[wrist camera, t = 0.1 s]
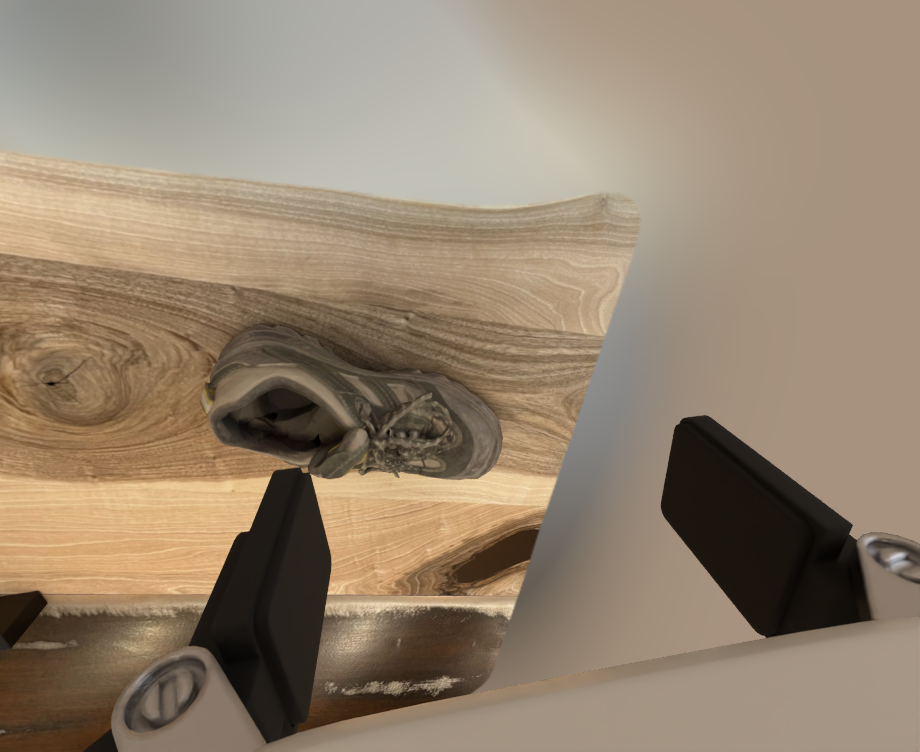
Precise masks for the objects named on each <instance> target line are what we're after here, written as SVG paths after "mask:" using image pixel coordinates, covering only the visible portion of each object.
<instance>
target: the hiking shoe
mask: <svg viewBox="0 0 920 752" xmlns="http://www.w3.org/2000/svg"><path fill="white" fill-rule="evenodd" d="M200 403H201V405H202V408H203V410H204V412H205V414H206V415H208V418H209V425H210V427H211V429H212V432H213V434H214V436H215V438H216V439H217V440H219V441H220V442H221V443H223V444H226V445H229V446H234V447H239V448H242V449H245V450H248V451H252V452H256V453H259V454H263V455H266V456H270V457H274V458H277V459H280V460H282V461H284V462H286V463H289V464H292V465H296V466H299V467H300V468H304V467H308V471H309V473H310V474H312V475H314V476H316V477H319V478H326V479H334V478H340V477H342V476H344V475H346V474H347V473H349V472H350V471H351V470H352V469H355V468H357V469H361V470H359V473H360V474H361V475H364V474H366V473H368V472H369V471H382V472H388V473H394V474H395V477H398V478H399V476H398V474H397V472H404V473H408V474H418V475H423V476H427V477H434V478H441V479H452V480H461V479H478V478H480V477H481V476H483V475H484V474H486V473H487V472H489V471H490V470H491V468H492V467H493V466H494V465H495V464H496V462H497V460H498V457H499V455H500V452H501V450H502V440H503V437H502V431H501V426H500V423H499V420H498V419H497V417H496V416H495V414H494V413H493V411H492V410H491V409H490V408H489V407H487V406H486V404H485V403H484V402H483V401H482V400H480V399H479V398H478V397H477V396H476V395H474V394H472V393H470V392H469V391H467V389H466V387H464V386H463V385H461V384H459V383H457V382H454V381H449V380H447V378H446V377H445V376H443V375H440V374H437V373H421V372H420V371H419V370H418V369H404V370H401V371H397V370H395V369H386V370H382V371H371V370H366V369H361V368H357V367H355V366H353V365H351V364H349V363H347V362H345V361H344V360H342V359H341V358H339V357H338V356H336V355H335V354H334V353H333V350H332V349H331V348H329V347H327V346H323V347H321V345H320V344H319V342H318V341H317V339H315V338H313V337H310V336H308V335H304V336H302V337H301V336H300V335H299V334H298V333H297V332H296V331H294V330H292V329H290V328H287V327H283V326H279V325H277V326H275V327H273V328H271V327H268V326H265V325H256V326H253V327H250V328H247V329H246V330H244V331H243V332H241V333H240V334H238V335H236V336H235V337H233V338H232V339H231V340H230V342H229V343H228V344H227V345H226V346H225V348H224V349H223V350H222V352H221V354H220V356H219V358H218V361H217V362H216V364H215V366H214V369H213V371H212V373H211V375H210V383H206V382H205V385H204V389H203V392H202V396H201V400H200ZM367 467H368V468H367ZM374 467H379V468H374ZM381 468H384V469H385V470H383V469H381Z"/></svg>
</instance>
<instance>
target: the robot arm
mask: <svg viewBox="0 0 920 752" xmlns="http://www.w3.org/2000/svg"><path fill="white" fill-rule="evenodd" d="M661 510H662V513H663V515H664V517H665V519H666V520H667V521H668V522H669V524H670V525H671V526H672V528H673V529H674V530H675V531H676V532H677V534H678V535H679V536H680V538H681V539H682V540H683V541H684V543H685V544H686V545H687V546H688V548H689V549H690V550H691V551H692V552H693V554H694V555H695V556H696V558H697V559H698V560H699V561H700V563H701V564H702V565H703V566H704V567H705V569H706V570H707V571H708V573H709V574H710V575H711V576H712V578H713V579H714V580H715V581H716V583H717V584H718V585H719V586H720V588H721V589H722V590H723V591H724V592H725V594H726V595H727V596H728V598H729V599H730V600H731V601H732V602H733V604H734V605H735V606H736V608H737V609H738V610H739V611H740V612H741V614H742V615H743V616H744V618H745V619H746V620H747V621H748V623H749V624H750V625H751V626H752V628H753V629H755V631H756V632H757V633H759V634H760V635H763V636H765V637H766V638H765V639H760V640H754V641H749V642H743V643H738V644H733V645H727V646H721V647H716V648H710V649H706V650H699V651H694V652H689V653H683V654H678V655H673V656H667V657H662V658H658V659H652V660H646V661H641V662H636V663H631V664H625V665H620V666H614V667H609V668H605V669H599V670H594V671H588V672H583V673H578V674H573V675H567V676H562V677H557V678H552V679H546V680H541V681H537V682H531V683H526V684H521V685H516V686H511V687H506V688H500V689H495V690H491V691H486V692H480V693H476V694H470V695H465V696H460V697H455V698H449V699H444V700H439V701H434V702H429V703H424V704H419V705H415V706H410V707H405V708H401V709H396V710H392V711H387V712H382V713H378V714H373V715H368V716H364V717H359V718H354V719H350V720H345V721H341V722H337V723H333V724H330V725H326V726H322V727H318V728H315V729H311V730H307V731H303V732H300V733H297V728H298V724H299V723H304V722H306V720H307V718H308V714H309V708H310V702H311V695H312V689H313V682H314V676H315V670H316V663H317V657H318V650H319V644H320V637H321V631H322V625H323V618H324V612H325V605H326V599H327V593H328V586H329V580H330V573H331V554H330V549H329V545H328V541H327V538H326V534H325V530H324V526H323V522H322V518H321V514H320V510H319V506H318V502H317V498H316V494H315V490H314V486H313V482H312V478H311V475H310V473H303V472H302V470H301V468H292V469H284V470H276V471H274V473H273V474H272V477H271V479H270V482H269V484H268V487H267V489H266V492H265V494H264V497H263V499H262V502H261V504H260V506H259V509H258V511H257V514H256V516H255V519H254V521H253V524H252V526H251V529H250V531H248V532H241V533H240V534H239V535H237V537H236V539H235V540H234V542H233V545H232V547H231V549H230V552H229V554H228V556H227V559H226V561H225V563H224V565H223V568H222V570H221V572H220V575H219V577H218V579H217V582H216V584H215V586H214V589H213V591H212V593H211V595H210V598H209V600H208V602H207V605H206V607H205V609H204V612H203V614H202V616H201V618H200V621H199V623H198V625H197V628H196V630H195V632H194V635H193V637H192V639H191V642H190V644H189V646H188V647H181V648H178V649H176V650H173V651H170V652H167V653H166V654H164V655H162V656H160V657H159V658H157V659H155V660H153V661H152V662H151V663H150V664H148V665H147V666H146V667H145V668H143V669H142V670H141V671H140V672H139V673H137V675H136V676H135V677H134V678H133V679H132V680H131V681H130V683H129V684H128V685H127V686H126V687H125V689H124V690H123V692H122V694H121V695H120V697H119V699H118V700H117V702H116V704H115V707H114V710H113V714H112V717H111V726H112V729H110V730H109V731H108V732H107V733H105V734H104V735H103V736H102V737H101V738H99V739H98V740H97V741H96V742H94V743H93V744H92V745H91V746H89V747H88V748H87V749H86V750H85V751H83V752H920V544H919V543H917V542H915V541H912V540H909V539H907V538H904V537H901V536H898V535H893V534H888V533H881V532H880V533H878V532H871V533H867V534H863V535H862V536H861V537H860V538H858V540H856V539H854V538H853V537H852V536H851V535H849V533H850V531H851V528H852V526H853V525H852V524H851V523H850V522H848V521H847V520H845V519H844V518H843V517H842V516H840V515H839V514H838V513H836V512H835V511H834V510H832V509H831V508H830V507H828V506H827V505H826V504H825V503H823V502H822V501H821V500H819V499H818V498H817V497H815V496H814V495H813V494H811V493H810V492H808V491H807V490H806V489H804V488H803V487H802V486H801V485H799V484H798V483H797V482H795V481H794V480H793V479H791V478H790V477H789V476H787V475H786V474H785V473H784V472H782V471H781V470H780V469H778V468H777V467H776V466H774V465H773V464H771V463H770V462H769V461H768V460H766V459H765V458H764V457H762V456H761V455H759V454H758V453H757V452H756V451H754V450H753V449H752V448H750V447H749V446H748V445H746V444H745V443H744V442H742V441H741V440H740V439H738V438H737V437H736V436H735V435H733V434H732V433H731V432H729V431H728V430H726V429H725V428H724V427H723V426H721V425H720V424H719V423H717V422H716V421H715V420H713V419H712V418H711V417H709V416H705V415H703V416H695V417H688V418H684V419H682V420H681V421H680V424H678V425H676V427H675V429H674V434H673V440H672V446H671V451H670V456H669V462H668V468H667V473H666V479H665V484H664V489H663V495H662V501H661Z"/></svg>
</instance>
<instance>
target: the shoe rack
mask: <svg viewBox="0 0 920 752" xmlns="http://www.w3.org/2000/svg"><path fill="white" fill-rule="evenodd" d="M46 605H47V603H46V601H45V600H44V598H43V597H42V595H41V594H40V592H31V593H24V594H18V595H11V596H4V597H0V650H6V649H11V648H12V647H13V646H14V644H15V643H16V642H17V641H18V639H19V638H20V637H21V636H22V634H23V633H24V632H25V631H26V630H27V628H28V627H29V626H30V625H31V623H32V622H33V621H34V620H35V618H36V617H37V616H38V615H39V613H40V612H41V611H42V610H43V608H44V607H45V606H46Z"/></svg>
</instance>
